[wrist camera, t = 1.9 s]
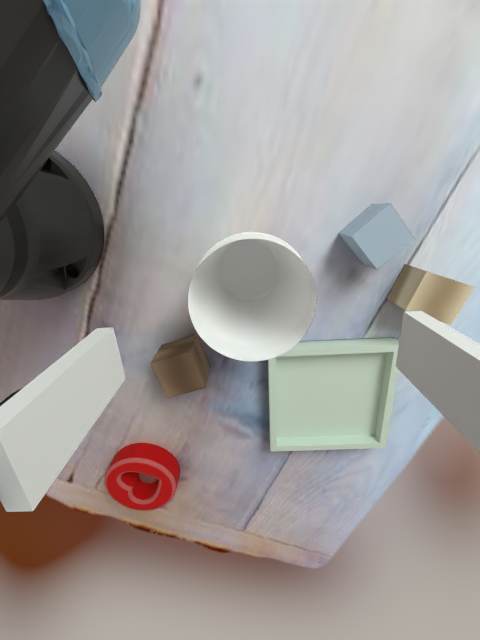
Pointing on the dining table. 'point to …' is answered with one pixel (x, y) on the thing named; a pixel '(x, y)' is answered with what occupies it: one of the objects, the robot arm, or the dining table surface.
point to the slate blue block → (377, 235)
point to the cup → (252, 297)
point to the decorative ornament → (146, 461)
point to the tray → (332, 394)
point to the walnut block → (181, 366)
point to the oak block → (429, 294)
